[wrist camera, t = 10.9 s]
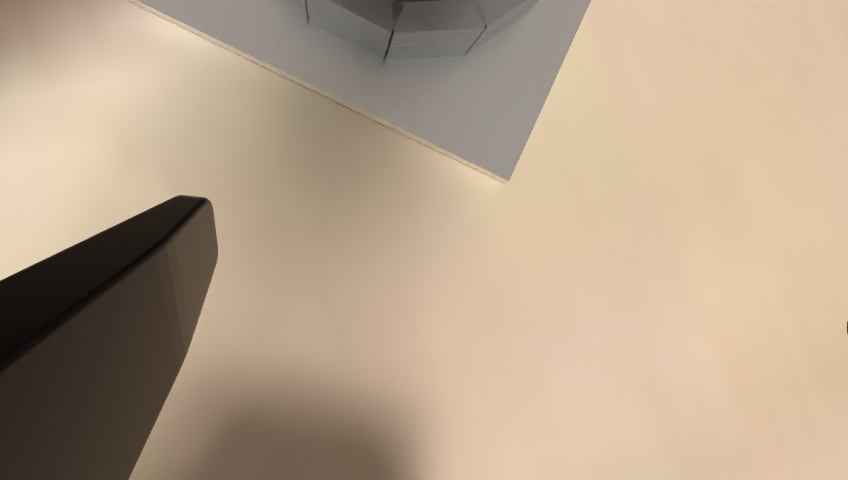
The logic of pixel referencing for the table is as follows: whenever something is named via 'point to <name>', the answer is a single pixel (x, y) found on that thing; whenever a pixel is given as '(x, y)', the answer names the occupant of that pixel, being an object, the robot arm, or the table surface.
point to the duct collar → (407, 61)
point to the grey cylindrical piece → (411, 0)
